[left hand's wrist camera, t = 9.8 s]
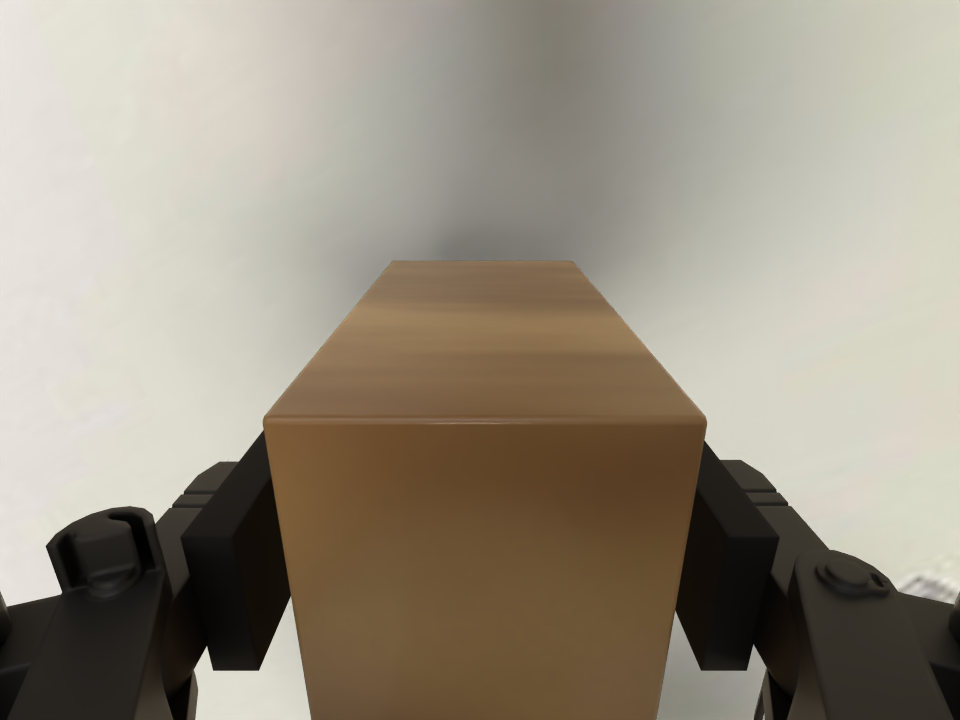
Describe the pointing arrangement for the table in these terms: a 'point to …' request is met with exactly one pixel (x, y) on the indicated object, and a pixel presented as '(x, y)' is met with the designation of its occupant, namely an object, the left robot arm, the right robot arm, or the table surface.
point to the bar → (484, 500)
